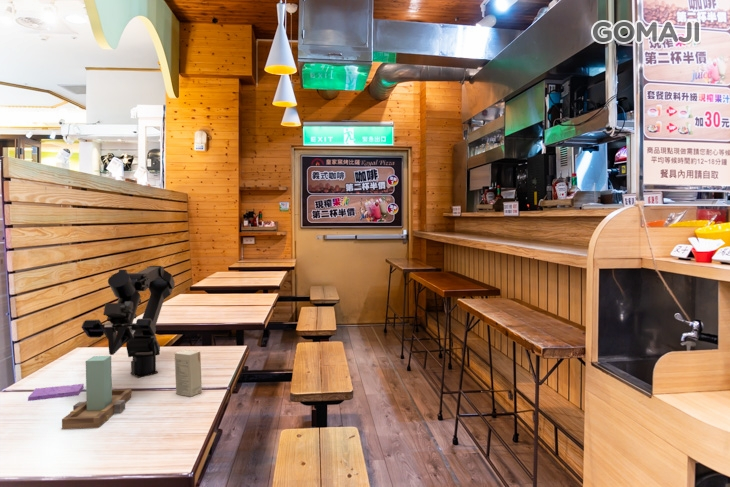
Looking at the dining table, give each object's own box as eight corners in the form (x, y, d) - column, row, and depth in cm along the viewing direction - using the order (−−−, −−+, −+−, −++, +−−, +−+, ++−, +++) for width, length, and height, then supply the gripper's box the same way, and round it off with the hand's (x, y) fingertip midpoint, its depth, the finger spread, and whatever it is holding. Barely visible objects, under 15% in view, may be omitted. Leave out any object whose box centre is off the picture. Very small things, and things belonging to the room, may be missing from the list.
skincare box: (202, 392, 136) (201, 351, 136) (191, 397, 132) (190, 355, 132) (186, 389, 139) (185, 348, 139) (174, 393, 135) (174, 352, 135)
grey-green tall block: (94, 404, 124) (93, 356, 123) (112, 403, 124) (111, 355, 124) (86, 410, 119) (85, 360, 119) (104, 410, 120) (103, 360, 119)
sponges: (78, 397, 134) (78, 390, 134) (27, 402, 130) (26, 396, 130) (84, 389, 140) (84, 383, 140) (35, 394, 136) (35, 388, 136)
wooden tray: (94, 398, 131) (94, 389, 131) (137, 397, 132) (137, 388, 132) (55, 429, 111) (54, 418, 111) (105, 427, 113) (105, 416, 112)
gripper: (83, 292, 133) (63, 339, 122) (151, 291, 134) (137, 338, 124) (97, 314, 141) (79, 360, 130) (161, 312, 143) (149, 358, 132)
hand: (111, 354), depth 129 cm, fingers closed
